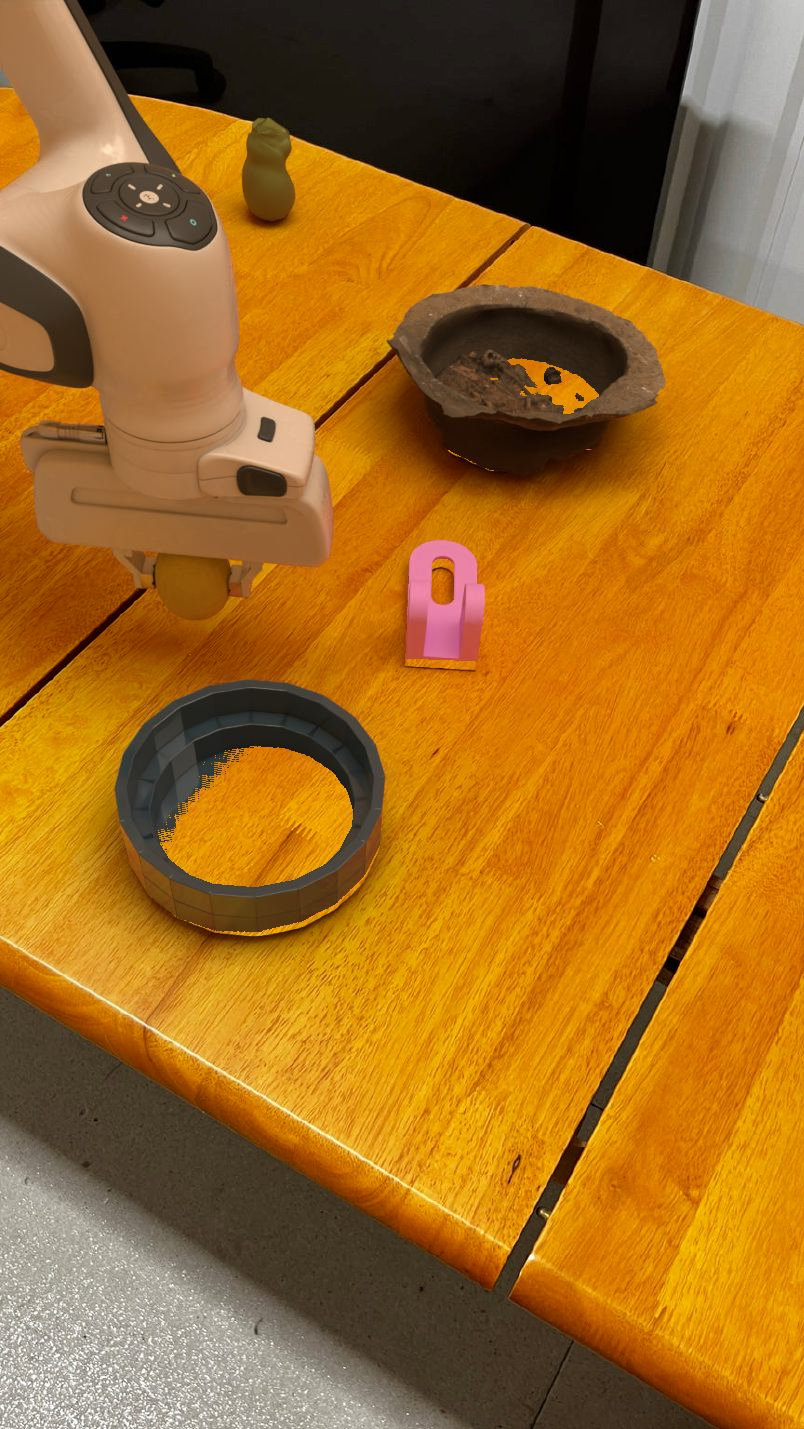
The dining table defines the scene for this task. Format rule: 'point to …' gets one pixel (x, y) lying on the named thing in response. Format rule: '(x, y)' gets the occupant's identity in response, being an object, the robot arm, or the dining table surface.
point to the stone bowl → (522, 372)
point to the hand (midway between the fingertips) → (195, 587)
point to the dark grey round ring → (194, 734)
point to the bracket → (444, 606)
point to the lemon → (192, 585)
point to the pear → (268, 171)
